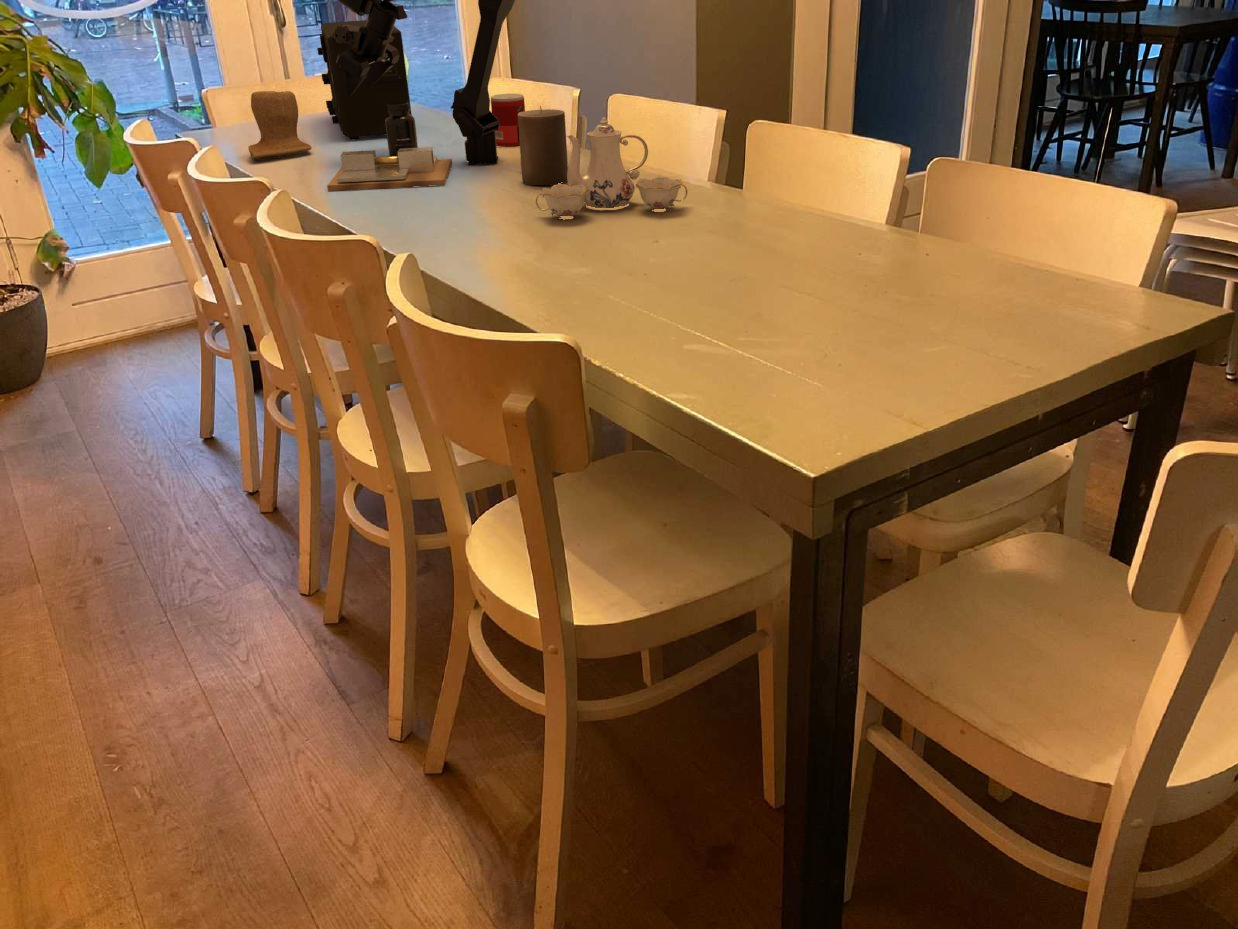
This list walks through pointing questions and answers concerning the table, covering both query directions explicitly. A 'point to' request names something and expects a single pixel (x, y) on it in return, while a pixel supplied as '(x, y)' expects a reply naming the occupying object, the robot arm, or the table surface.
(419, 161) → the fixed leaf
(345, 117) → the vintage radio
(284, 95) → the brown chair-shaped stand
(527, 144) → the pillar candle
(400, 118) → the supplement bottle
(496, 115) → the canned food
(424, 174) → the board
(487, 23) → the robot arm
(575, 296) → the table surface
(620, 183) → the chinaware
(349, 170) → the loose leaf
